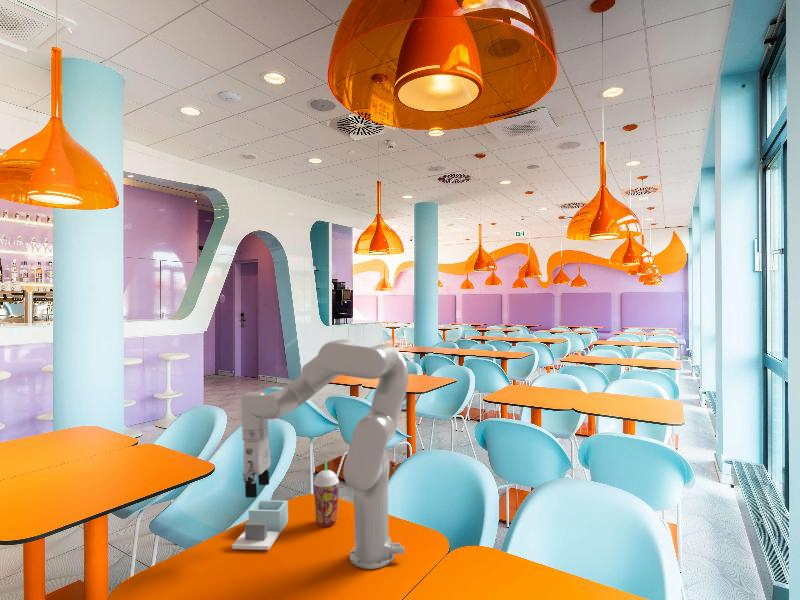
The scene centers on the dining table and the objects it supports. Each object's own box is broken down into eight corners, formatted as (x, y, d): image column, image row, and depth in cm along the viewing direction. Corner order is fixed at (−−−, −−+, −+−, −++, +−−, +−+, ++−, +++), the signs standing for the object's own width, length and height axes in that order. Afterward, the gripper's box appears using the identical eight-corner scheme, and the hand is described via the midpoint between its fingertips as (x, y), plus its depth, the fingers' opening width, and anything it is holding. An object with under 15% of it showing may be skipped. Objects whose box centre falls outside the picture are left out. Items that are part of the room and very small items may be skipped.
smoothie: (312, 519, 157) (311, 459, 157) (337, 516, 160) (336, 456, 160) (315, 530, 149) (314, 467, 149) (341, 526, 152) (340, 464, 152)
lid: (279, 537, 146) (279, 516, 146) (268, 552, 137) (268, 530, 137) (244, 536, 146) (244, 516, 147) (232, 551, 138) (231, 529, 138)
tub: (288, 522, 156) (287, 500, 156) (279, 533, 148) (279, 511, 148) (258, 521, 156) (258, 500, 157) (248, 532, 148) (248, 510, 149)
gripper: (256, 441, 133) (258, 502, 133) (277, 426, 150) (279, 480, 150) (230, 441, 134) (233, 502, 133) (254, 426, 151) (257, 480, 151)
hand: (257, 490), depth 142 cm, fingers open, 9 cm apart
